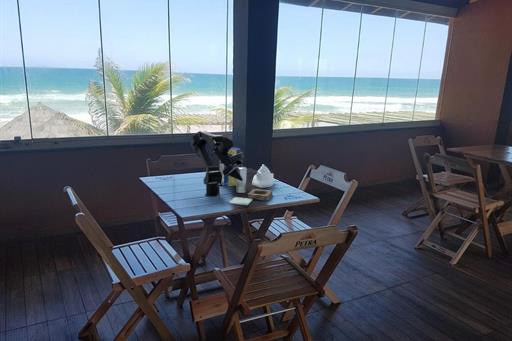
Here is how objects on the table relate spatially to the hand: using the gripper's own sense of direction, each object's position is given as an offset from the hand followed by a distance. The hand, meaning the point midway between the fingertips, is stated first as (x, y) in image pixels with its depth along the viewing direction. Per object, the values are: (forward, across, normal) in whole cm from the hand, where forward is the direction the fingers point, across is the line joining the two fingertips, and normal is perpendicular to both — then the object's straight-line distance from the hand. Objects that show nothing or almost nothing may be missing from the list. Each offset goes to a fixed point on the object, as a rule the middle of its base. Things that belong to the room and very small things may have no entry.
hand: (243, 179), depth 194 cm
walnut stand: (+13, +11, +4) cm, 18 cm away
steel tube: (+4, 0, +6) cm, 7 cm away
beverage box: (-4, +30, +22) cm, 37 cm away
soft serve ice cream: (+10, +36, +7) cm, 39 cm away
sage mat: (+8, 0, +10) cm, 12 cm away
